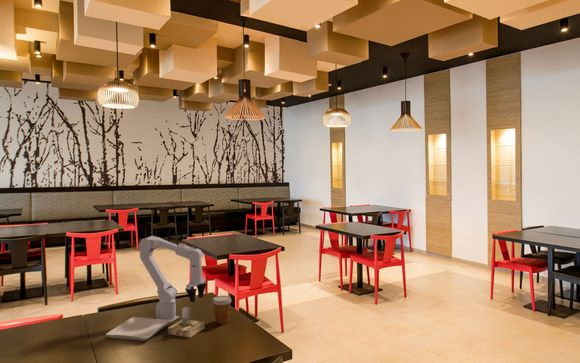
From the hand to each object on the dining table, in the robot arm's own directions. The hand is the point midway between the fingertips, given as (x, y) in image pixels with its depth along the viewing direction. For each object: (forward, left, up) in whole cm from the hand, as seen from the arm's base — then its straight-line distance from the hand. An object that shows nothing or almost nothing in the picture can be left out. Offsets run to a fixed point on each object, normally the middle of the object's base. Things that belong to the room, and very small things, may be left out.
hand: (196, 299), depth 200 cm
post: (+4, -14, -7) cm, 16 cm away
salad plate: (-16, -23, -11) cm, 30 cm away
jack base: (+4, -14, -10) cm, 18 cm away
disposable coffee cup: (+14, +2, -11) cm, 17 cm away
